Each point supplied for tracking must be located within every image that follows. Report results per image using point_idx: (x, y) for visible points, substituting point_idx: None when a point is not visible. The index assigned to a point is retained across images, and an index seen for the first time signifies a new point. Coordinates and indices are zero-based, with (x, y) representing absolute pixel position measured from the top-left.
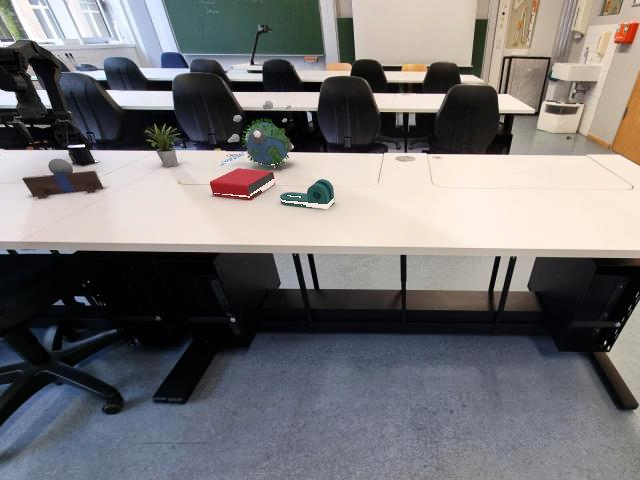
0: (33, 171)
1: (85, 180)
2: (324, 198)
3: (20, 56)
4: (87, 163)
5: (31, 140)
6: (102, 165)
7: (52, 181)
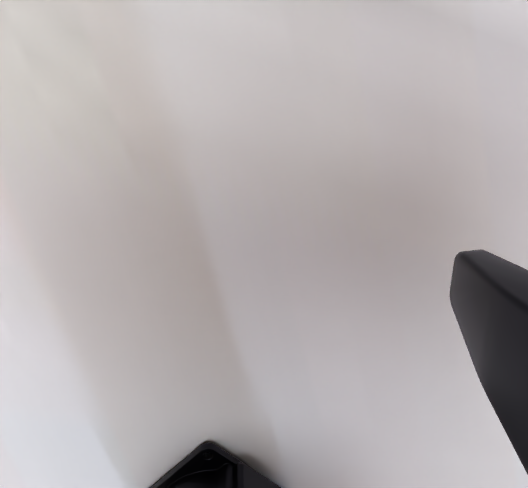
0: None
1: None
2: None
3: None
4: (180, 474)
5: (502, 284)
6: (72, 436)
7: None
